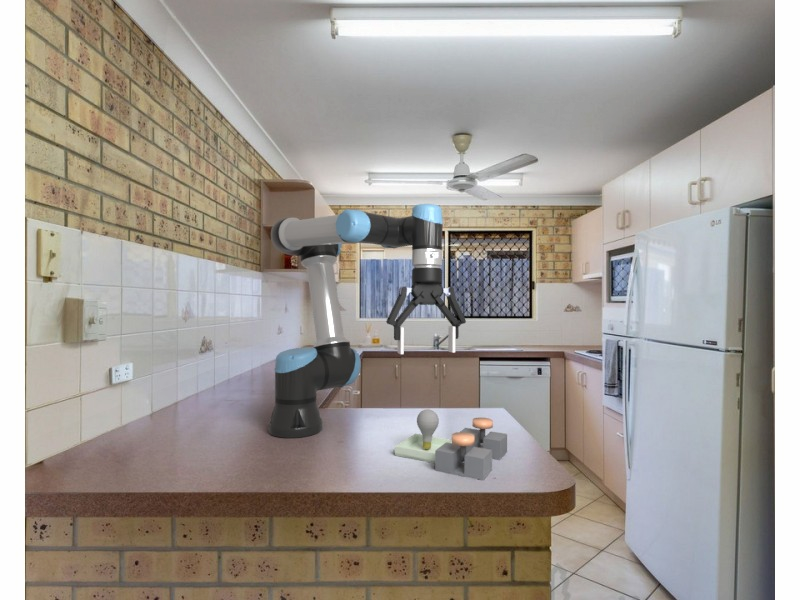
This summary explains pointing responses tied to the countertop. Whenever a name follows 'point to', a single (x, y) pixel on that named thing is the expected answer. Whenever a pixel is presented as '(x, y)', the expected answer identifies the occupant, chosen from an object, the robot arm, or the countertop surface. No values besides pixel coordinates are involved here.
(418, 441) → the tray
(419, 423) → the light bulb
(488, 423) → the orange mushroom knob
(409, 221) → the robot arm
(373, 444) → the countertop surface
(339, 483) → the countertop surface
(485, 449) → the socket housing
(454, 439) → the plunger
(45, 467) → the countertop surface
